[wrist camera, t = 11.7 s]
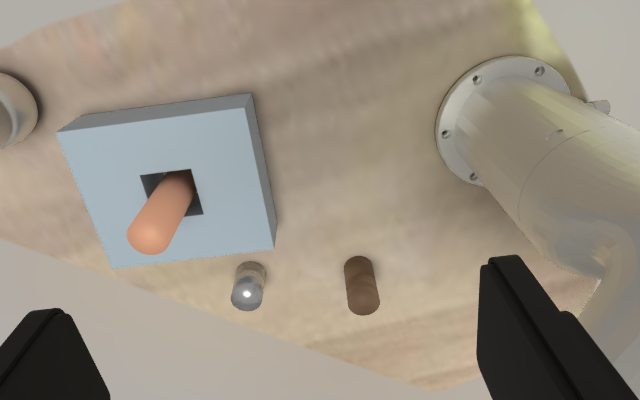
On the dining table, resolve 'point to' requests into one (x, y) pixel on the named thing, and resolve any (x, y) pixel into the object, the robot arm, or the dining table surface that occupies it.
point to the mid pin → (361, 286)
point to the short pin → (248, 286)
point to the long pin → (162, 213)
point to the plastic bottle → (15, 111)
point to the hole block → (171, 155)
